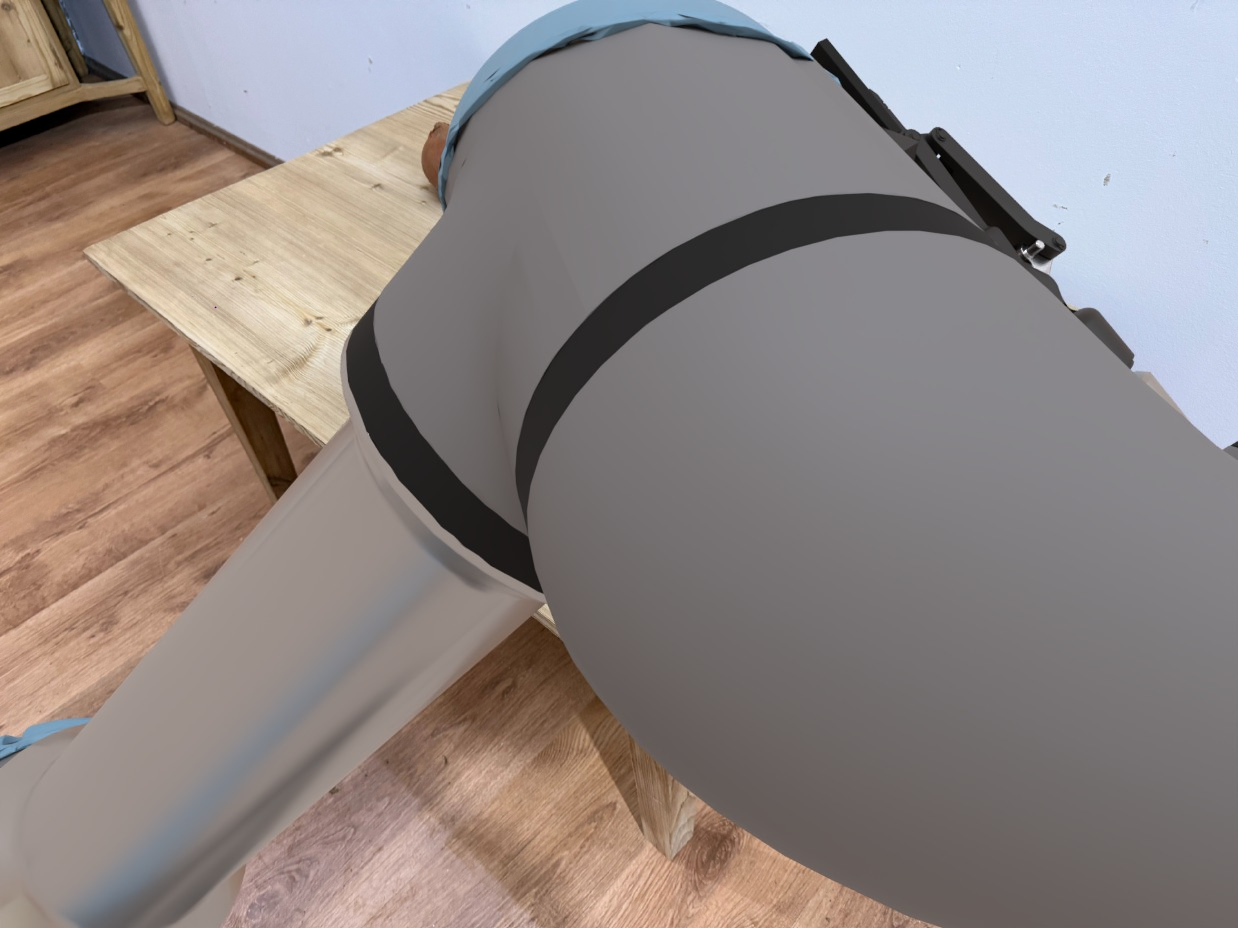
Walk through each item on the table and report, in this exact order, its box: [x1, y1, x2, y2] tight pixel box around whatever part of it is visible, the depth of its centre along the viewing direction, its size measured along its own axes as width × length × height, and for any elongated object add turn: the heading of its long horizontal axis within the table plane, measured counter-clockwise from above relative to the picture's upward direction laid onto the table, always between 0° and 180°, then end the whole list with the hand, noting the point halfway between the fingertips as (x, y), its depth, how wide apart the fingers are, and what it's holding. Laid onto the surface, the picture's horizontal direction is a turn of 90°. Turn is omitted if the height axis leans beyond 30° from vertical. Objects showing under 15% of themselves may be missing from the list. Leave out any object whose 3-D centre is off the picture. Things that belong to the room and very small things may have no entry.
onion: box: [420, 121, 450, 191], centre depth 108 cm, size 10×9×10 cm
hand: (795, 66), depth 46 cm, fingers closed on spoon, 2 cm apart
